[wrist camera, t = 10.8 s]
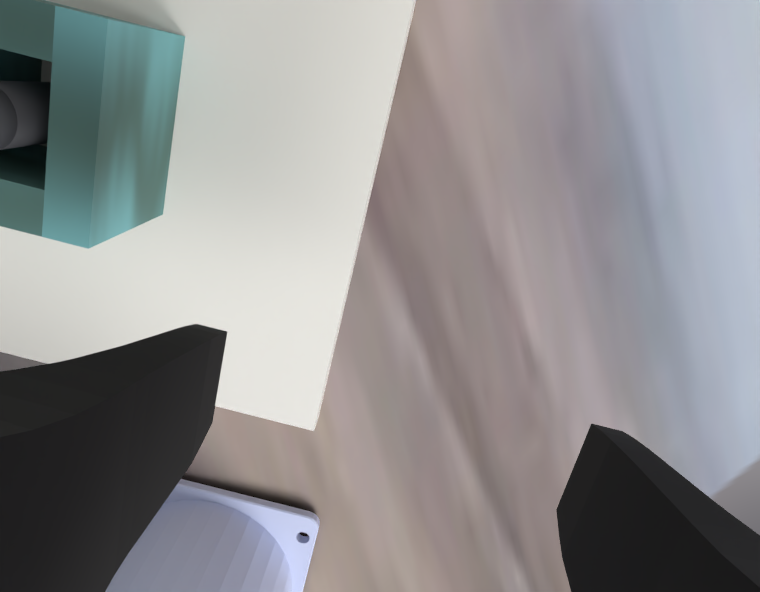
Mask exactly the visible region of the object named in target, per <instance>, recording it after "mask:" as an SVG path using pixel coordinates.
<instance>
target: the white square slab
mask: <svg viewBox="0 0 760 592" xmlns="http://www.w3.org/2000/svg"><path fill="white" fill-rule="evenodd" d="M46 1H50V2H54V3H58V4H62V5H66V6H69V7H73V8H77V9H81V10H85V11H89V12H93V13H97V14H100V15H104V16H108V17H112V18H116V19H120V20H124V21H128V22H131V23H135V24H139V25H143V26H147V27H151V28H155V29H159V30H163V31H166V32H170V33H174V34H178V35H182V36H185V42H184V50H183V58H182V66H181V74H180V82H179V90H178V98H177V106H176V114H175V122H174V130H173V138H172V146H171V154H170V162H169V170H168V178H167V186H166V194H165V202H164V210H163V215H161V216H158V217H156V218H154V219H152V220H150V221H148V222H145V223H143V224H141V225H139V226H137V227H135V228H132V229H130V230H128V231H126V232H124V233H122V234H119V235H117V236H115V237H113V238H111V239H109V240H106V241H104V242H102V243H100V244H98V245H96V246H93V247H91V248H89V249H87V248H83V247H80V246H76V245H72V244H68V243H64V242H60V241H56V240H52V239H48V238H44V237H41V236H37V235H33V234H29V233H25V232H21V231H17V230H13V229H9V228H6V227H2V226H0V352H3V353H7V354H11V355H15V356H19V357H23V358H27V359H31V360H35V361H39V362H43V363H47V364H51V363H56V362H61V361H65V360H70V359H74V358H78V357H82V356H85V355H89V354H93V353H97V352H101V351H104V350H108V349H112V348H116V347H119V346H123V345H126V344H129V343H132V342H136V341H139V340H142V339H145V338H148V337H151V336H155V335H158V334H161V333H164V332H167V331H170V330H174V329H177V328H180V327H184V326H188V325H193V324H199V325H203V326H207V327H211V328H215V329H219V330H223V331H227V337H226V343H225V349H224V355H223V361H222V367H221V373H220V379H219V385H218V391H217V397H216V403H215V406H217V407H221V408H225V409H229V410H233V411H237V412H241V413H245V414H249V415H253V416H257V417H260V418H264V419H268V420H272V421H276V422H280V423H284V424H288V425H292V426H296V427H300V428H304V429H308V430H312V431H314V429H315V426H316V423H317V421H318V418H319V414H320V409H321V405H322V401H323V397H324V392H325V388H326V384H327V380H328V375H329V371H330V367H331V362H332V358H333V354H334V350H335V345H336V341H337V337H338V333H339V328H340V324H341V320H342V316H343V311H344V307H345V303H346V298H347V294H348V290H349V286H350V281H351V277H352V273H353V269H354V264H355V260H356V256H357V251H358V247H359V243H360V239H361V234H362V230H363V226H364V222H365V217H366V213H367V209H368V204H369V200H370V196H371V192H372V187H373V183H374V179H375V175H376V170H377V166H378V162H379V158H380V153H381V149H382V145H383V140H384V136H385V132H386V128H387V123H388V119H389V115H390V111H391V106H392V102H393V98H394V93H395V89H396V85H397V81H398V76H399V72H400V68H401V64H402V59H403V55H404V51H405V46H406V42H407V38H408V34H409V29H410V25H411V21H412V17H413V12H414V8H415V4H416V0H46ZM51 72H52V62H50V61H46V60H42V70H41V82H35V81H0V150H3V149H10V148H17V147H25V146H32V145H42V146H46V147H47V140H48V123H49V106H50V89H51Z"/></svg>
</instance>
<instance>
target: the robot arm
mask: <svg viewBox="0 0 760 592" xmlns="http://www.w3.org/2000/svg"><path fill="white" fill-rule="evenodd" d="M226 337H227V331H223V330H219V329H215V328H211V327H207V326H203V325H199V324H193V325H188V326H184V327H180V328H177V329H174V330H170V331H167V332H164V333H161V334H158V335H155V336H151V337H148V338H145V339H142V340H139V341H136V342H132V343H129V344H126V345H123V346H119V347H116V348H112V349H108V350H104V351H101V352H97V353H93V354H89V355H85V356H82V357H78V358H74V359H70V360H65V361H61V362H56V363H51V364H46V365H40V366H34V367H28V368H22V369H17V370H10V371H2V372H0V592H303V588H304V584H305V580H306V576H307V572H308V568H309V565H310V561H311V557H312V553H313V549H314V545H315V541H316V537H317V533H318V529H319V525H320V520H319V518H318V516H317V515H316V514H314V513H313V512H310V511H307V510H303V509H299V508H295V507H291V506H287V505H283V504H279V503H275V502H271V501H267V500H263V499H259V498H255V497H251V496H247V495H243V494H239V493H235V492H231V491H227V490H224V489H220V488H216V487H212V486H208V485H204V484H200V483H196V482H192V481H188V480H184V479H181V478H182V477H183V475H184V474H185V472H186V471H187V469H188V468H189V466H190V465H191V463H192V461H193V460H194V458H195V456H196V454H197V452H198V450H199V448H200V446H201V444H202V442H203V440H204V438H205V436H206V434H207V432H208V430H209V428H210V426H211V424H212V421H213V415H214V409H215V403H216V397H217V391H218V385H219V379H220V373H221V367H222V361H223V355H224V349H225V343H226ZM557 519H558V528H559V537H560V544H561V551H562V558H563V562H564V566H565V570H566V573H567V577H568V581H569V584H570V588H571V592H760V535H758V534H757V533H756V532H754V531H753V530H751V529H750V528H749V527H747V526H746V525H745V524H743V523H742V522H741V521H739V520H738V519H736V518H735V517H734V516H733V515H731V514H730V513H728V512H727V511H726V510H724V509H723V508H722V507H721V506H719V505H718V504H717V503H716V502H714V501H713V500H712V499H710V498H709V497H708V496H707V495H705V494H704V493H703V492H702V491H700V490H699V489H698V488H697V487H695V486H694V485H693V484H692V483H690V482H689V481H688V480H687V479H685V478H684V477H683V476H682V475H680V474H679V473H678V472H677V471H676V470H674V469H673V468H672V467H671V466H669V465H668V464H667V463H666V462H664V461H663V460H662V459H661V458H659V457H658V456H657V455H656V454H654V453H653V452H652V451H650V450H649V449H648V448H647V447H645V446H644V445H643V444H641V443H640V442H638V441H637V440H636V439H634V438H633V437H631V436H629V435H628V434H626V433H624V432H623V431H619V430H615V429H611V428H607V427H603V426H599V425H595V424H591V426H590V429H589V431H588V434H587V436H586V439H585V441H584V444H583V446H582V448H581V451H580V453H579V456H578V458H577V461H576V463H575V466H574V468H573V471H572V473H571V475H570V478H569V480H568V483H567V485H566V488H565V490H564V493H563V495H562V498H561V500H560V502H559V505H558V507H557ZM300 532H305V533H307V534H308V535H309V536H302V535H300Z"/></svg>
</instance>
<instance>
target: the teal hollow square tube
mask: <svg viewBox="0 0 760 592" xmlns="http://www.w3.org/2000/svg"><path fill="white" fill-rule="evenodd" d="M184 42H185V36H182V35H178V34H174V33H170V32H166V31H163V30H159V29H155V28H151V27H147V26H143V25H139V24H135V23H131V22H128V21H124V20H120V19H116V18H112V17H108V16H104V15H100V14H97V13H93V12H89V11H85V10H81V9H77V8H73V7H69V6H66V5H62V4H58V3H54V2H50V1H46V0H0V81H35V82H41V70H42V60H46V61H50V62H52V72H51V89H50V106H49V123H48V140H47V147H46V146H42V145H32V146H25V147H17V148H10V149H3V150H0V226H2V227H6V228H9V229H13V230H17V231H21V232H25V233H29V234H33V235H37V236H41V237H44V238H48V239H52V240H56V241H60V242H64V243H68V244H72V245H76V246H80V247H83V248H87V249H89V248H91V247H93V246H96V245H98V244H100V243H102V242H104V241H106V240H109V239H111V238H113V237H115V236H117V235H119V234H122V233H124V232H126V231H128V230H130V229H132V228H135V227H137V226H139V225H141V224H143V223H145V222H148V221H150V220H152V219H154V218H156V217H158V216H161V215H163V210H164V202H165V194H166V186H167V178H168V170H169V162H170V154H171V146H172V138H173V130H174V122H175V114H176V106H177V98H178V90H179V82H180V74H181V66H182V58H183V50H184Z"/></svg>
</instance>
